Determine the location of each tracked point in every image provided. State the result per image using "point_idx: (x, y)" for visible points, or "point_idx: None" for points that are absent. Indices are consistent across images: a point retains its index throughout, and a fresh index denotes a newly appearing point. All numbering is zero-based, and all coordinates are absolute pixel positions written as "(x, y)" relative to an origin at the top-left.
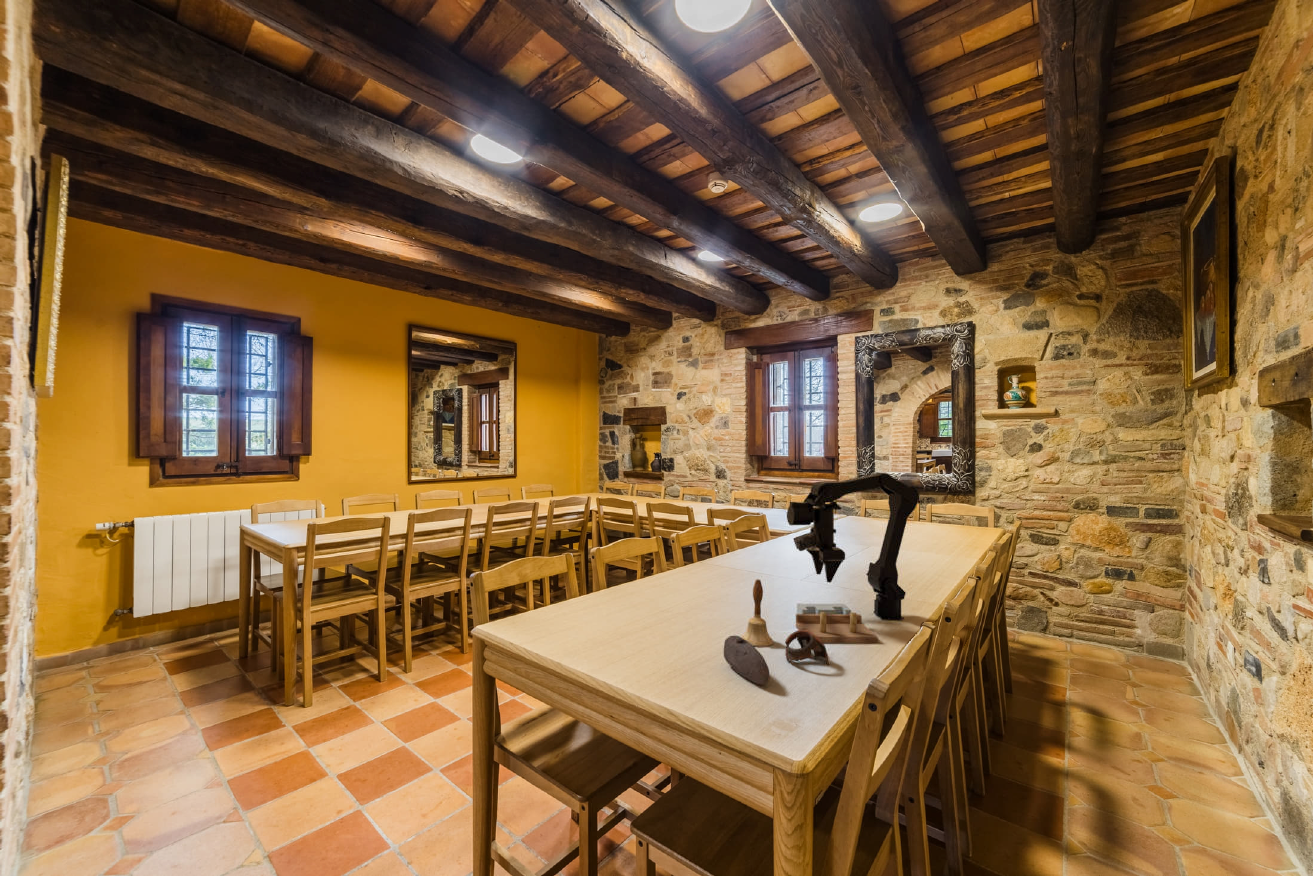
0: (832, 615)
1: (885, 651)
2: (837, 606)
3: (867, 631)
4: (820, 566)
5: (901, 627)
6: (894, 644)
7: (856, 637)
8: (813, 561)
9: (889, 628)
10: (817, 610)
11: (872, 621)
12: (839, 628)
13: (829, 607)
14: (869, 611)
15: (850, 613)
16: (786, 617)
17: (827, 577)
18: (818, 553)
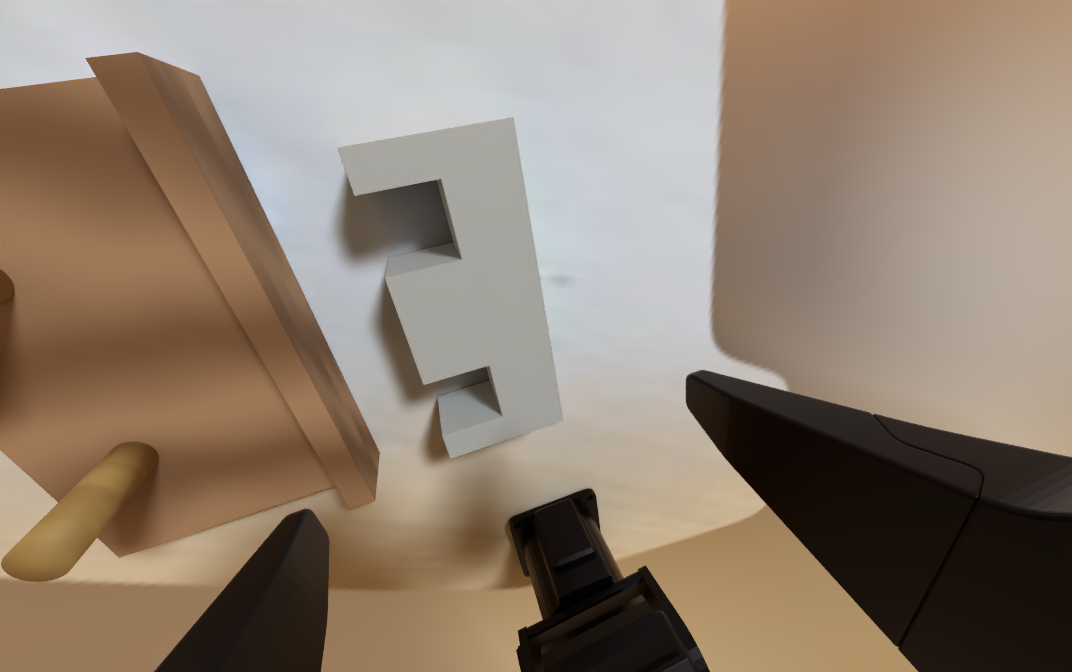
0: (270, 370)
1: None
2: (500, 394)
3: (202, 512)
4: (762, 471)
5: (435, 572)
6: (167, 580)
7: (31, 474)
8: (894, 425)
9: (406, 544)
10: (401, 271)
11: (483, 489)
12: (170, 386)
13: (466, 352)
14: (613, 472)
15: (17, 548)
16: (425, 26)
17: (229, 590)
18: (1067, 660)
